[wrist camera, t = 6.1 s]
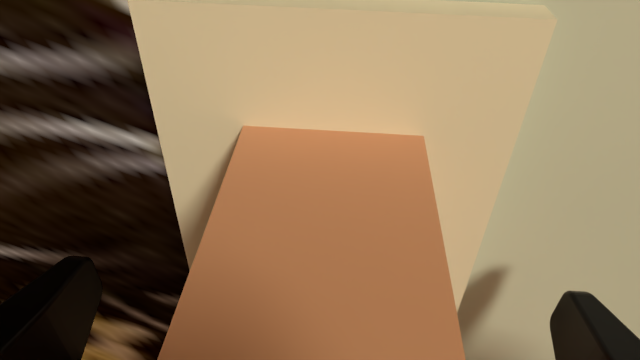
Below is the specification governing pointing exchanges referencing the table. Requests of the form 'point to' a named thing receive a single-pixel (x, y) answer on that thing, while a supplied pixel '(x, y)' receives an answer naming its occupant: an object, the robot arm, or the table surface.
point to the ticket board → (565, 189)
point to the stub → (333, 166)
